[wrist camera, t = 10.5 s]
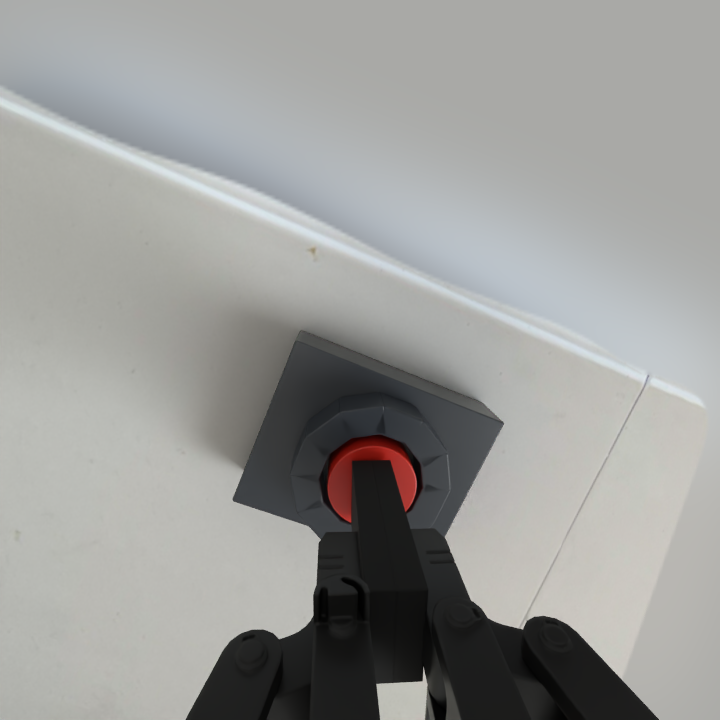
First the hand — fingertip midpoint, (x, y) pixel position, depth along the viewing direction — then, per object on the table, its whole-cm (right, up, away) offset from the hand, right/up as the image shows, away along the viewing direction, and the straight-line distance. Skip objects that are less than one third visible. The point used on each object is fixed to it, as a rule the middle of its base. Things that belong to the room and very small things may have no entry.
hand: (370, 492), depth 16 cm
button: (0, 0, +2) cm, 2 cm away
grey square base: (0, +1, +5) cm, 5 cm away
